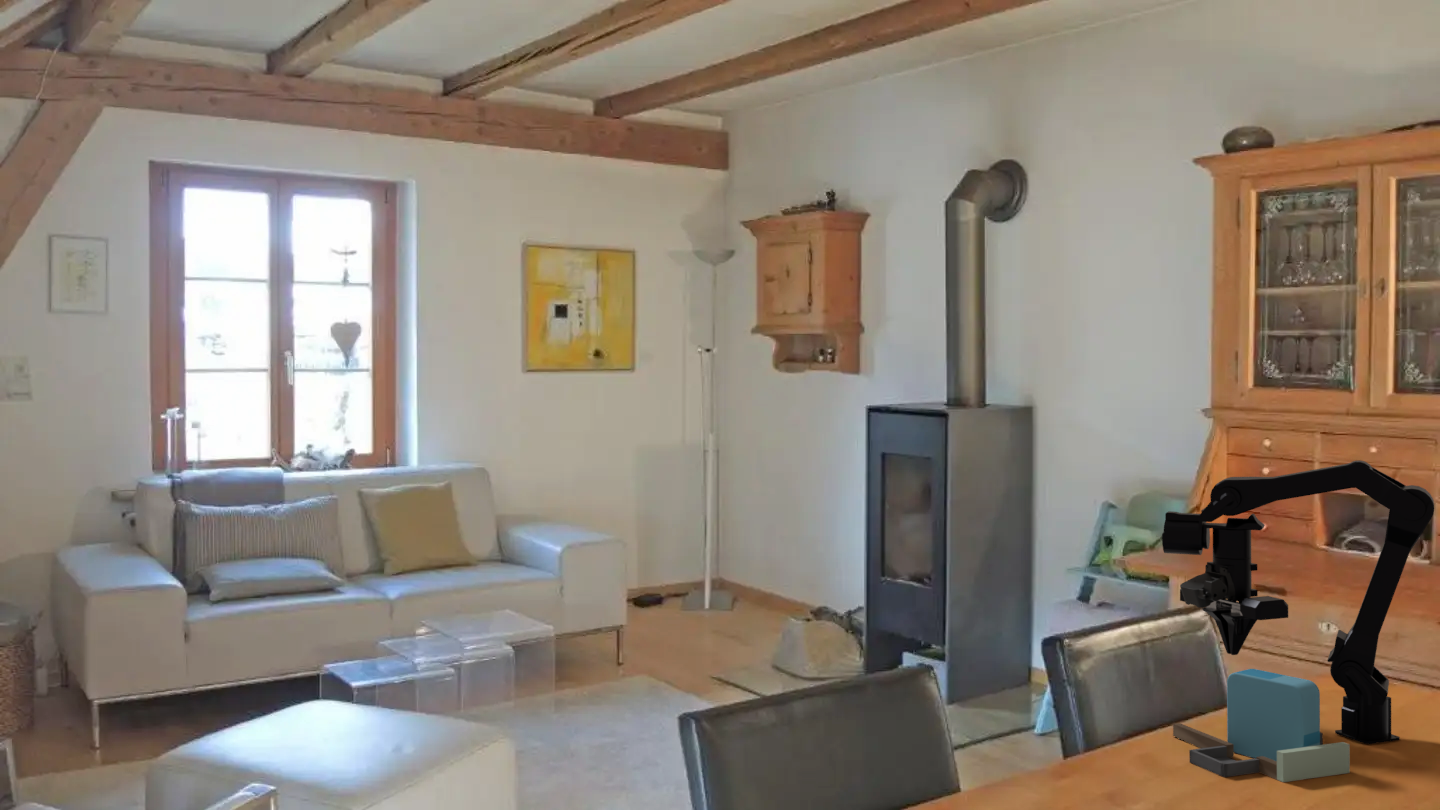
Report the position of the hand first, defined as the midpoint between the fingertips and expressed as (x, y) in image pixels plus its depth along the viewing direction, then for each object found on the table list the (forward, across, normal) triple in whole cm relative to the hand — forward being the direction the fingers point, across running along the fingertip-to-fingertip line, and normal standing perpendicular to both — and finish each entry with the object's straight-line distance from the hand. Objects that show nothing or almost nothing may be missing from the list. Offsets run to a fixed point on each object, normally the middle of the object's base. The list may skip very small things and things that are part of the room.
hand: (1232, 654), depth 203 cm
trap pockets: (+11, +14, -8) cm, 20 cm away
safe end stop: (+11, +26, -8) cm, 29 cm away
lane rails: (+11, +14, -8) cm, 20 cm away
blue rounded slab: (+11, +17, -7) cm, 22 cm away
